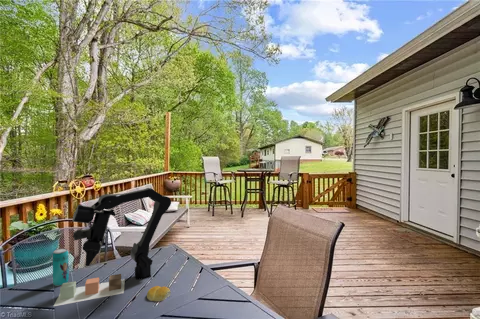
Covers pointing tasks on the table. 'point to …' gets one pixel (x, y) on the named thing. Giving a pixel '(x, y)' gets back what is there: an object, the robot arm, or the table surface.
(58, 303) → the white mat
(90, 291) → the terracotta block
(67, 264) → the beverage can
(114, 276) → the walnut block
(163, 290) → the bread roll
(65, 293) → the sage block
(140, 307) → the table surface
